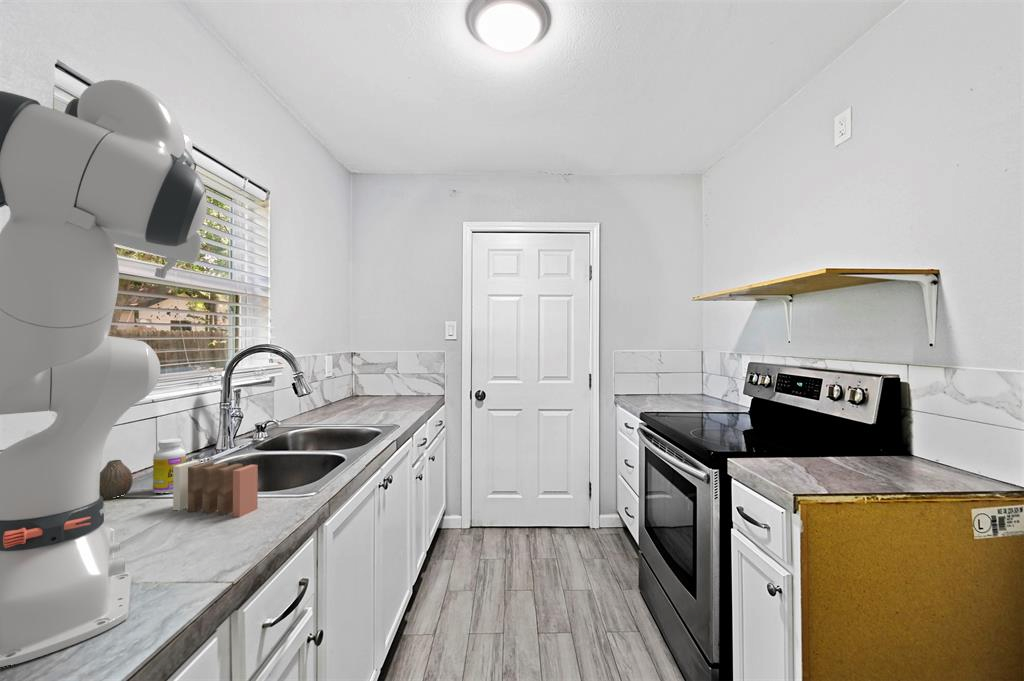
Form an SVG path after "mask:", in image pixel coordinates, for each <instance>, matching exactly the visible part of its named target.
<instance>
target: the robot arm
mask: <svg viewBox="0 0 1024 681" xmlns="http://www.w3.org/2000/svg"><path fill="white" fill-rule="evenodd" d="M193 147H194V146H193V141H192V140H191V138H190V137H189V136H188V135H187V134H185V133H184V132H183V128H182V126H181V124H180V122H179V120H178V119H177V117H176V115H175V114H174V113H173V111H172V110H171V109H170V107H168V105H167V104H166V103H164V102H163V101H162V100H161V99H160V98H159V97H158V96H156V95H155V94H154V93H152V92H150V91H149V90H147V89H146V88H143V87H141V86H139V85H138V84H136V83H132V82H129V81H125V80H120V79H107V80H106V79H105V80H101V81H97V82H94V83H92V84H91V85H89V86H87V88H86V89H85V90H83V92H82V93H81V95H80V96H79V98H73V99H72V100H70V101H69V102H68V103H67V104H66V107H65V110H64V112H63V111H59V110H57V109H53V108H50V107H47V106H44V105H42V104H40V102H39V101H38V100H36V99H33V98H31V97H27V96H23V95H20V94H16V93H12V92H8V91H5V90H4V91H3V90H0V208H2V207H5V206H6V207H8V208H9V212H10V215H9V219H8V221H7V222H6V224H5V225H4V226H3V228H2V229H1V231H0V416H2V415H3V416H4V415H13V414H26V413H40V412H41V413H42V412H48V411H49V412H54V413H56V417H55V420H54V421H53V423H52V424H51V425H50V426H48V427H47V428H45V429H43V430H41V431H40V432H37V433H34V434H33V435H30V436H28V437H25V438H23V439H20V440H19V441H17V442H15V443H12V444H11V445H9V446H8V447H6V448H5V449H3V450H2V451H0V666H1V667H2V666H6V665H11V666H15V665H17V664H20V663H21V664H22V663H25V662H27V661H31V660H33V659H36V658H39V657H43V656H45V655H48V654H51V653H54V652H57V651H59V650H62V649H65V648H68V647H70V646H72V645H76V644H78V643H80V642H83V641H85V640H88V639H90V638H93V637H95V636H97V635H99V634H101V633H104V632H106V631H108V630H110V629H112V628H113V627H115V626H117V625H119V624H121V623H122V622H124V621H125V620H127V619H128V618H129V615H130V606H131V605H130V604H131V592H132V582H133V576H132V571H131V570H126V557H124V556H122V557H117V558H115V553H118V552H120V549H121V543H120V541H118V542H117V541H116V542H115V529H114V528H112V527H110V526H107V525H105V524H104V521H105V504H104V498H103V497H102V496H100V495H99V487H100V472H101V466H102V459H103V453H104V448H105V444H106V442H107V439H108V437H109V434H110V433H111V431H112V429H113V428H114V426H115V425H116V423H117V422H118V421H119V420H120V418H122V416H123V415H124V414H125V413H126V412H127V411H129V409H131V408H132V407H133V406H134V405H136V404H137V403H138V402H140V401H142V400H144V399H145V398H147V397H148V396H149V395H150V394H151V393H152V391H153V390H154V389H155V388H156V386H157V384H158V382H159V380H160V376H161V362H160V359H159V357H158V354H157V353H156V351H155V350H154V349H153V348H152V347H151V346H150V345H149V344H148V343H147V342H145V341H143V340H137V339H131V338H126V337H121V336H120V337H118V336H110V335H109V334H110V331H111V326H112V322H113V318H114V317H113V316H114V312H115V308H116V304H117V300H118V299H117V298H118V293H119V284H120V271H119V260H118V254H117V249H116V246H115V245H118V246H121V247H126V248H129V249H134V250H138V251H141V252H145V253H149V254H153V255H158V256H162V257H164V258H165V259H164V260H165V262H166V263H165V265H164V266H162V267H161V268H160V267H156V269H155V271H156V272H154V277H156V278H161V279H166V277H167V276H166V275H167V274H168V273H167V272H168V271H170V270H171V269H173V268H174V267H175V266H176V264H177V261H180V262H184V263H189V264H194V263H196V262H197V261H198V260H199V257H200V253H201V249H202V247H201V246H202V237H201V236H202V235H201V233H200V232H199V230H201V229H202V227H203V224H204V222H205V220H206V216H207V213H208V199H207V195H206V193H207V188H206V186H205V184H204V181H203V180H202V179H201V177H200V175H199V174H198V173H197V172H196V168H197V163H196V161H195V160H194V158H193ZM14 664H15V665H14Z"/></svg>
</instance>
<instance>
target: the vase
mask: <svg viewBox="0 0 1024 681" xmlns="http://www.w3.org/2000/svg"><path fill="white" fill-rule="evenodd" d="M133 480H134V477H133V474H132V471H131V470H130V468H129V467H128V466H126V464H125V463H124V462H122V460H121V459H114V460H109V461H108V462H107V463H106V465H105V466H104V468H103V469H102V470H100V487H99V495H100V496H102V497H103V499H104V498H113V497H117V496H121V495H124V494H125V495H127V494H128V493H129V492H130V491H131V488H132V485H133V482H134V481H133ZM126 493H127V494H126ZM125 495H124V496H125Z"/></svg>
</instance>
